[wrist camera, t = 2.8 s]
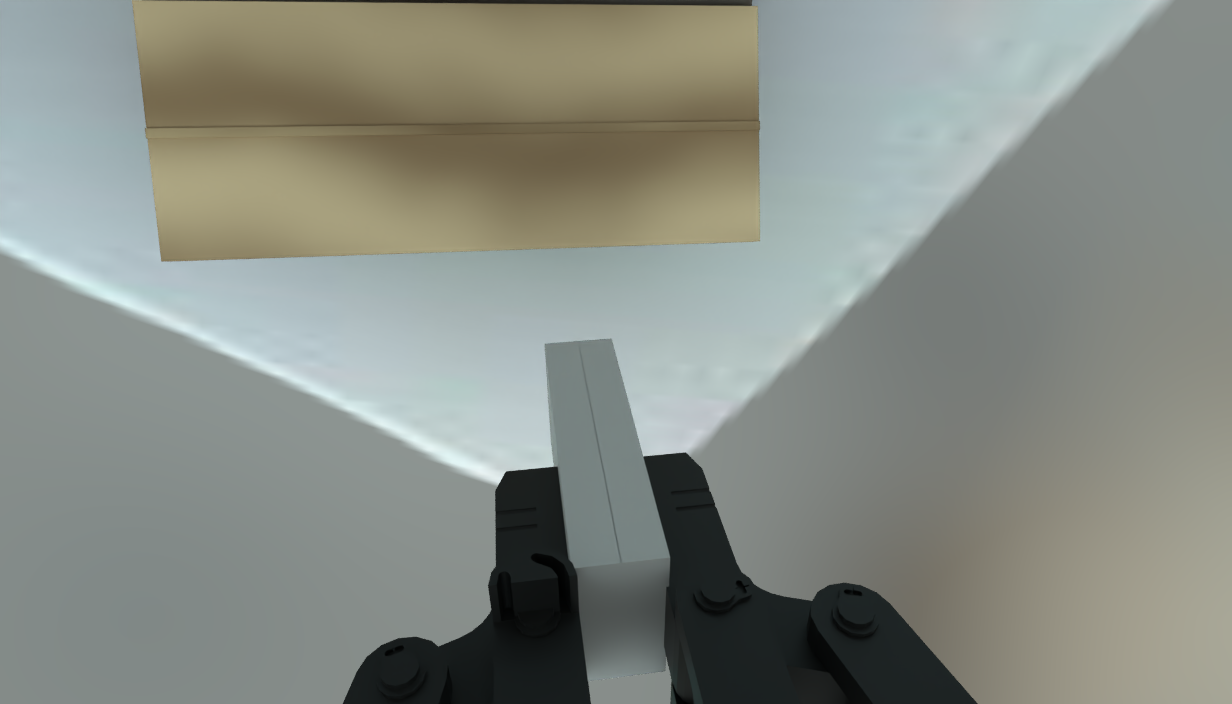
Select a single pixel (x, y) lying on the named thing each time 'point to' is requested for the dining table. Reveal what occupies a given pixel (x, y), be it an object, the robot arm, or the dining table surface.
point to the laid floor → (535, 2)
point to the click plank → (447, 126)
